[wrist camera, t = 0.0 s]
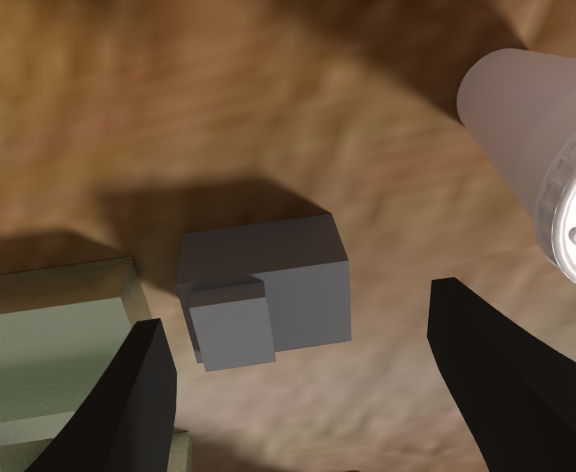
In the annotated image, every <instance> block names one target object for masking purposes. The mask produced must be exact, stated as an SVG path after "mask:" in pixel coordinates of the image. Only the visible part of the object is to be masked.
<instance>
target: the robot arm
mask: <svg viewBox="0 0 576 472" xmlns="http://www.w3.org/2000/svg"><path fill="white" fill-rule="evenodd" d="M427 338H428V341H429V344H430V347H431V350H432V352H433V355H434V358H435V361H436V363H437V366H438V369H439V371H440V373H441V375H442V377H443V379H444V381H445V383H446V385H447V387H448V389H449V391H450V393H451V395H452V397H453V399H454V400H455V402H456V404H457V406H458V408H459V410H460V412H461V414H462V416H463V418H464V420H465V422H466V423H467V425H468V427H469V429H470V431H471V433H472V435H473V437H474V439H475V441H476V443H477V445H478V447H479V449H480V451H481V453H482V455H483V457H484V460H485V462H486V464H487V467H488V469H489V472H576V362H575V361H573V360H571V359H569V358H567V357H566V356H564V355H563V354H561V353H559V352H558V351H556V350H554V349H553V348H551V347H550V346H548V345H547V344H545V343H543V342H542V341H540V340H539V339H537V338H536V337H534V336H533V335H531V334H530V333H528V332H527V331H525V330H524V329H523V328H521V327H520V326H518V325H517V324H515V323H514V322H513V321H511V320H510V319H509V318H507V317H506V316H504V315H503V314H502V313H500V312H499V311H498V310H496V309H495V308H494V307H492V306H491V305H490V304H489V303H487V302H486V301H485V300H483V299H482V298H481V297H479V296H478V295H477V294H476V293H474V292H473V291H472V290H471V289H469V288H468V287H467V286H465V285H464V284H463V283H462V282H460V281H459V280H458V279H456V278H455V277H451V278H444V279H437V280H432V284H431V295H430V307H429V318H428V329H427ZM176 395H177V371H176V368H175V365H174V362H173V358H172V355H171V352H170V348H169V345H168V342H167V338H166V335H165V332H164V329H163V325H162V322H161V319H160V318H157V319H150V320H143V321H137V322H136V323H135V324H134V325H133V327H132V329H131V330H130V332H129V334H128V335H127V337H126V338H125V340H124V342H123V343H122V345H121V347H120V348H119V350H118V351H117V353H116V355H115V356H114V358H113V359H112V361H111V362H110V364H109V365H108V367H107V368H106V370H105V371H104V373H103V374H102V376H101V377H100V379H99V380H98V382H97V383H96V385H95V386H94V388H93V389H92V390H91V392H90V393H89V395H88V396H87V397H86V399H85V400H84V401H83V403H82V404H81V405H80V407H79V408H78V409H77V411H76V412H75V413H74V415H73V416H72V417H71V419H70V420H69V421H68V422H67V424H66V425H65V426H64V427H63V428H62V430H61V431H60V432H59V433H58V434H57V436H56V437H55V438H54V439H53V440H52V441H51V443H50V444H49V445H48V446H47V447H46V448H45V449H44V451H43V452H42V453H41V454H40V455H39V456H38V457H37V458H36V459H35V460H34V461H33V462H32V464H31V465H30V466H29V467H28V468H27V469H26V470H25V471H24V472H167V468H168V461H169V454H170V448H171V441H172V434H173V427H174V420H175V413H176Z"/></svg>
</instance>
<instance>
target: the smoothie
mask: <svg viewBox="0 0 576 472" xmlns="http://www.w3.org/2000/svg"><path fill="white" fill-rule="evenodd" d="M456 105H457V112H458V115H459V118H460V120H461V122H462V123H463V124H464V126H465V127H466V129H467V130H468V131H469V133H470V134H471V136H472V137H473V138H474V140H475V141H476V143H477V144H478V145H479V147H480V148H481V150H482V151H483V152H484V154H485V155H486V156H487V158H488V159H489V161H490V162H491V163H492V165H493V166H494V168H495V169H496V170H497V172H498V173H499V175H500V176H501V177H502V179H503V180H504V182H505V183H506V184H507V186H508V187H509V188H510V190H511V191H512V193H513V194H514V195H515V197H516V198H517V200H518V201H519V202H520V204H521V205H522V207H523V208H524V210H525V212H526V213H527V214H528V215H529V217H530V218H531V219H532V221H533V223H534V229H535V236H536V241H537V243H538V245H539V246H540V248H541V250H542V252H543V253H544V255H545V257H546V258H547V260H549V261H550V262H551V263H553V264H554V265H555V266H556V267H558V268H559V269H560V270H561V271H562V272H563V273H564V274H565V275H566V276H567V277H568V278H569V279H570V280H571V281H573V282H574V283H576V59H575V58H569V57H563V56H557V55H551V54H545V53H539V52H533V51H527V50H521V49H515V48H506V49H500V50H497V51H494V52H491V53H489V54H487V55H486V56H484V57H483V58H481V59H480V60H479V61H477V62H476V63H475V64H474V65H473V66H472V67H471V68H470V70H469V71H468V72H467V73H466V75H465V77H464V78H463V80H462V82H461V84H460V87H459V90H458V94H457V101H456Z"/></svg>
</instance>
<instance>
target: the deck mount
mask: <svg viewBox="0 0 576 472" xmlns="http://www.w3.org/2000/svg"><path fill="white" fill-rule="evenodd" d="M150 319H152V318H151V315H150V312H149V309H148V305H147V302H146V299H145V296H144V293H143V290H142V287H141V284H140V281H139V278H138V275H137V272H136V269H135V266H134V263H133V260H132V257H125V258H118V259H111V260H104V261H97V262H89V263H82V264H75V265H68V266H61V267H54V268H46V269H39V270H32V271H25V272H18V273H11V274H4V275H0V472H24V471H25V470H26V469H27V468H28V467H29V466H30V465H31V464H32V462H33V461H34V460H35V459H36V458H37V457H38V456H39V455H40V454H41V453H42V452H43V451H44V449H45V448H46V447H47V446H48V445H49V444H50V443H51V440H50V438H55V437H56V436H57V434H58V433H59V432H60V431H61V430H62V428H63V427H64V426H65V425H66V424H67V422H68V421H69V420H70V419H71V417H72V416H73V415H74V413H75V412H76V411H77V409H78V408H79V407H80V405H81V404H82V403H83V401H84V400H85V399H86V397H87V396H88V395H89V393H90V392H91V390H92V389H93V388H94V386H95V385H96V383H97V382H98V380H99V379H100V377H101V376H102V374H103V373H104V371H105V370H106V368H107V367H108V365H109V364H110V362H111V361H112V359H113V358H114V356H115V355H116V353H117V351H118V350H119V348H120V347H121V345H122V343H123V342H124V340H125V338H126V337H127V335H128V334H129V332H130V330H131V329H132V327H133V325H134V324H135V323H136V322H137V321H143V320H150ZM192 464H193V443H192V440H191V437H190V434H189V431H188V432H182V433H175V434H172V441H171V448H170V454H169V461H168V468H167V472H192Z"/></svg>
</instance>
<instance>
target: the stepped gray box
mask: <svg viewBox="0 0 576 472" xmlns="http://www.w3.org/2000/svg"><path fill="white" fill-rule="evenodd" d="M176 288H177V291H178V295H179V299H180V302H181V306H182V309H183V313H184V317H185V320H186V324H187V327H188V331H189V335H190V338H191V342H192V345H193V349H194V353H195V356H196V360H197V363H204V366H205V370H206V372H210V371H216V370H223V369H230V368H237V367H243V366H250V365H257V364H263V363H270V362H276V359H275V352H279V351H286V350H292V349H299V348H306V347H312V346H319V345H326V344H333V343H339V342H346V341H351V315H350V286H349V260H348V258H347V255H346V252H345V249H344V247H343V244H342V241H341V238H340V236H339V233H338V230H337V228H336V225H335V222H334V219H333V217H332V214H323V215H316V216H309V217H302V218H294V219H287V220H280V221H273V222H265V223H258V224H251V225H244V226H237V227H229V228H222V229H215V230H208V231H200V232H193V233H186V234H182V242H181V249H180V257H179V264H178V272H177V279H176Z"/></svg>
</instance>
